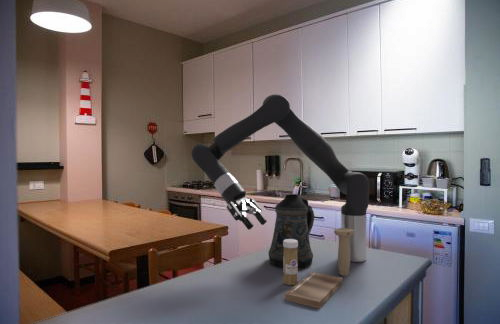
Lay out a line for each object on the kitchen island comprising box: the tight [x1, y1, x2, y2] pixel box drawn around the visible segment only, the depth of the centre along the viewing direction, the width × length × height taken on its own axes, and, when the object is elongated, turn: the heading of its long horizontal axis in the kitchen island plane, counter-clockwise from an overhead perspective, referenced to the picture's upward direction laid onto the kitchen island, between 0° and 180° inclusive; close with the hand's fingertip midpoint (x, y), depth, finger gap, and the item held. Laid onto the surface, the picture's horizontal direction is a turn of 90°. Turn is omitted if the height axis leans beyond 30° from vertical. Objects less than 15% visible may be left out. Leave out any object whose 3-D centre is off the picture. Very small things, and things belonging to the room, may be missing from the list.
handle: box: [333, 227, 354, 277], centre depth 112 cm, size 5×6×15 cm
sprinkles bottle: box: [282, 239, 299, 286], centre depth 105 cm, size 5×5×14 cm
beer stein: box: [268, 194, 315, 270], centre depth 127 cm, size 16×19×25 cm
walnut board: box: [284, 271, 344, 310], centre depth 99 cm, size 20×10×2 cm, turn 148°
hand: (258, 225), depth 111 cm, fingers open, 8 cm apart
